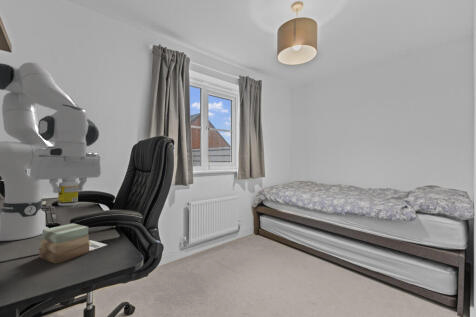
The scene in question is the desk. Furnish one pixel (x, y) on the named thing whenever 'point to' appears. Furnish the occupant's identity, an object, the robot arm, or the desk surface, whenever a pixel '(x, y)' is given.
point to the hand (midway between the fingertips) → (68, 191)
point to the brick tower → (64, 242)
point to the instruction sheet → (95, 245)
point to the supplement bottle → (68, 191)
